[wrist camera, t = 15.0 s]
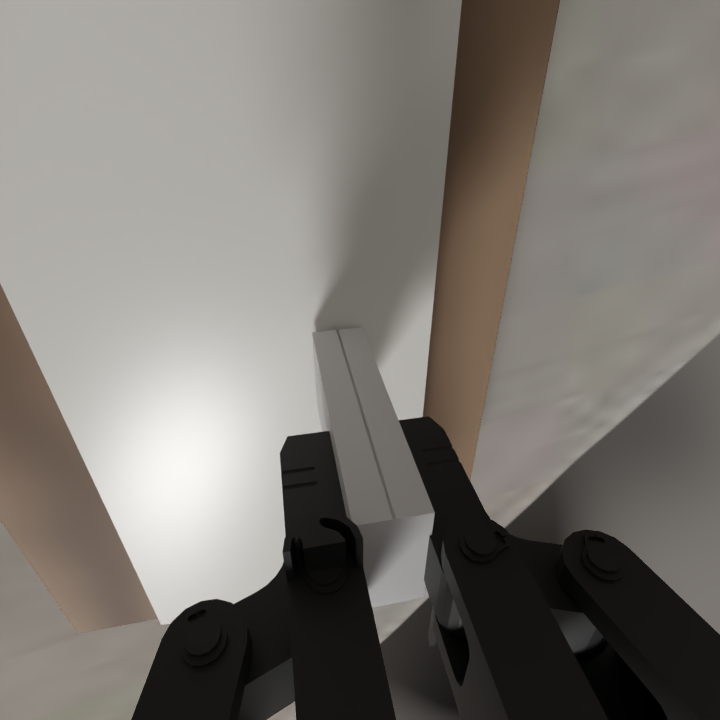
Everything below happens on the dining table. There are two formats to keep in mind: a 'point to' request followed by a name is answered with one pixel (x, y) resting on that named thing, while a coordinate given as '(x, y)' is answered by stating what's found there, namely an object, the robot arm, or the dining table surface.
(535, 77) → the wooden tray
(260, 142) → the duct cover
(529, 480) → the dining table surface
